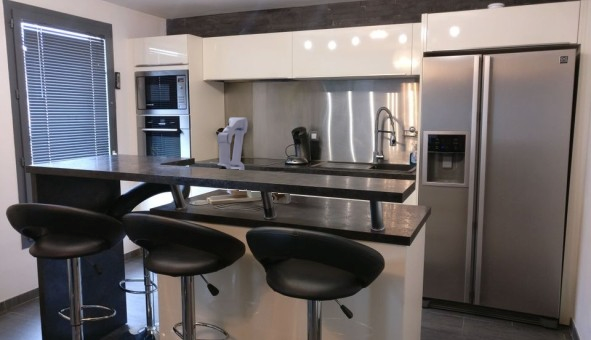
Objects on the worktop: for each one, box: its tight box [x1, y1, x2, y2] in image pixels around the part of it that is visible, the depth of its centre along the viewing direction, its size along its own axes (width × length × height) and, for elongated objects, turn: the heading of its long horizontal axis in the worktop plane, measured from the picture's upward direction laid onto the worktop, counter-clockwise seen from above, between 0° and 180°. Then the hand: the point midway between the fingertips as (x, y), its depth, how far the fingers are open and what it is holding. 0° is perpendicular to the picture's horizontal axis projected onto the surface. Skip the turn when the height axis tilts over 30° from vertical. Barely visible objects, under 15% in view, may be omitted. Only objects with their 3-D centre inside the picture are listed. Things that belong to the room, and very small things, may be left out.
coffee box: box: [271, 170, 292, 205], centre depth 236 cm, size 9×6×16 cm
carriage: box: [230, 190, 247, 198], centre depth 242 cm, size 6×7×7 cm
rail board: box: [206, 194, 262, 205], centre depth 242 cm, size 10×30×3 cm, turn 115°
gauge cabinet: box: [246, 190, 261, 198], centre depth 246 cm, size 8×7×4 cm
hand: (225, 180), depth 242 cm, fingers closed
